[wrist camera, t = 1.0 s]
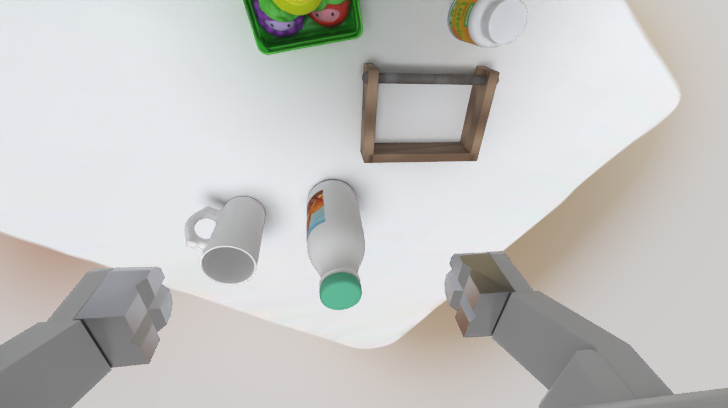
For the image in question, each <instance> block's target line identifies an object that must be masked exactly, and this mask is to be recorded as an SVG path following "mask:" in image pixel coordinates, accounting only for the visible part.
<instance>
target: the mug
mask: <svg viewBox="0 0 728 408" xmlns="http://www.w3.org/2000/svg"><path fill="white" fill-rule="evenodd" d="M204 218H209V219H212V220H214V221H215V222H216V226H215V228H214V231H213V233H212V235H211V237H210V239H203V238H200V237H199V236H198V235H197V234H196V233H195V230H194V226H195V224H196V223H197V222H198V221H199V220H201V219H204ZM264 221H265V210H264V208H263V206H262V205H261V204H260V203H259V202H258V201H257V200H255V199H253V198H250V197H244V196H240V197H235V198H233V199H231V200H229V201H228V202H227V203H226V205H225V206H224V208H223V210H216V209H214V208H212V207H205V208H204V209H202V210H200V211H198V212H197V213H195V214H193V215H192V216H191V217H190V218H189V219H188V221H187V222H186V225H185V237H186V246H188V247H191V248H200V249H202V250H203V254H202V256H201V258H200V262H199V265H200V269H201V271H202V272H203V274H204V275H205V276H206V277H207V278H209V279H210V280H212V281H214V282H217V283H220V284H225V285H236V284H241V283H244V282H246V281H248V280H250V279H251V278H252V277H253V276H254V274H255V272H256V266H257V262H258V257H259V251H260V245H261V239H262V233H263V227H264Z"/></svg>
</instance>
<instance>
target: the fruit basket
mask: <svg viewBox="0 0 728 408" xmlns="http://www.w3.org/2000/svg"><path fill="white" fill-rule="evenodd" d="M243 1H244V4H245V8H246V11H247V14H248V17H249V20H250V24H251V27H252V30H253V34H254V37H255V40H256V43H257V46H258V49H259V50H260V51H261V52H262V53H263V54H266V55H270V54H275V53H280V52H285V51H290V50H295V49H301V48H306V47H312V46H318V45H323V44H328V43H333V42H339V41H345V40H350V39H356V38H358V37H360V36H361V34H362V32H363V24H362V18H361V12H360V5H359V0H243Z"/></svg>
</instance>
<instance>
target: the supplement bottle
mask: <svg viewBox="0 0 728 408" xmlns="http://www.w3.org/2000/svg"><path fill="white" fill-rule="evenodd" d="M448 23H449V28H450V31H451V32H452V34H453V35H454V36H455V37H456V38H457V39H459V40H462V41H465V42H468V43H471V44H474V45H477V46H480V47H484V48H493V47H497V46H499V45H501V44H508V43H510V42H512V41H514V40H515V39H517V38H518V37H519V36H520V34H521V33H522V32H523V30H524V28H525V26H526V23H527V9H526V6H525V5H524V3H523V2H522V1H520V0H455V1H454V3H453V5H452V7H451V9H450V12H449V17H448Z"/></svg>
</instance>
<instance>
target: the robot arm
mask: <svg viewBox="0 0 728 408" xmlns="http://www.w3.org/2000/svg"><path fill="white" fill-rule="evenodd" d="M450 266H451V268H452V270H451V271H450V272H449V273H448V274H447V275H446V279H445V294H446V298H447V300H448V303H449V305H450V306H451V307H452V308H454V309H455V310H456V311H457V313H456V316H455V319H456V321H457V323H458V326H459V328H460V330H461V332H462V334H463V337H479V336H480V337H481V336H492V338H493V339H494V340H495V341H496V342H497V343H498V344H499V345H500V346H501V347H503V348H504V349H505V350H506V351H507V352H508V353H509V354H510V355H511V356H512V357H514V358H515V359H516V360H517V361H518V362H519V363H520V364H521V365H522V366H523V367H524V368H525V369H527V370H528V371H529V372H530V373H531V374H532V375H533V376H534V377H535V378H536V379H537V380H539V381H540V382H541V383H542V384H543V385H544V386H545V387H546V388H547V389H548V390H549V391H548V392H547V394H546V395H545V397H544V398H543V399H542V401H541V403H540V405H539V408H728V388H723V389H715V390H708V391H698V392H691V393H683V394H673V393H672V391H671V390H670V389H669V388H668V387H667V386H666V385H665V384H664V383H663V381H662V380H661V379H660V378H659V377H658V376H657V375H656V374H655V372H653V370H652V369H651V368H650V367H649V366H648V365H647V364H646V363H645V361H644V360H643V359H642V358H641V357H640V356H639V355H638V354H637V352H635V350H634V349H633V348H632V347H631V346H630V345H629V344H627V343H626V342H624V341H622V340H621V339H619V338H617V337H616V336H614V335H612V334H611V333H609V332H607V331H606V330H604V329H602V328H601V327H599V326H597V325H595V324H594V323H592V322H590V321H589V320H587V319H585V318H584V317H582V316H580V315H579V314H577V313H575V312H573V311H572V310H570V309H568V308H567V307H565V306H563V305H561V304H560V303H558V302H557V301H555V300H553V299H552V298H550V297H548V296H546V295H545V294H543V293H541V292H540V291H533V290H532V288H531V287H530V286H529V284H528V283H527V281H526V280H525V279H524V277H523V276H522V275H521V273H520V272H519V271H518V269H517V268H516V267H515V265H514V264H513V263H512V261H511V260H510V259H509V257H508V256H507V255H506V254H505V253H504V252H502V251H497V252H485V253H484V252H482V253H463V254H454V255H453V256H452V257H451V261H450ZM164 278H165V277H164V274H163V272H162V270H161V268H158V267H129V268H103V269H93V270H90V271H88V272H87V273H86V274H85V276H84V277H83V278H82V279H81V280H80V282H79V283H78V284H77V285H76V286H75V288H74V289H73V290H72V291H71V293H70V294H69V295H68V296H67V297H66V299H65V300H64V301H63V302H62V304H61V305H60V306H59V307H58V308H57V310H56V311H55V312H54V313H53V315H52V316H51V317H50V318H49V319H48V321H47V322H41V323H37V324H36V325H34V326H32V327H31V328H29V329H27V330H25V331H24V332H22V333H20V334H19V335H17V336H15V337H14V338H12V339H10V340H9V341H7V342H5V343H4V344H2V345H0V408H71V407H72V406H74V405H75V404H76V403H77V402H78V401H79V400H80V399H81V398H82V397H83V396H84V395H85V394H86V393H87V392H88V391H89V390H90V389H92V388H93V387H94V386H95V385H96V384H97V383H98V382H99V381H100V380H101V379H102V378H103V377H104V376H105V375H106V374H107V373H108V372H110V370H111V368H112V367H122V366H131V365H140V364H149V363H150V361H151V358H152V356H153V354H154V352H155V349H156V347H157V345H158V343H159V341H160V338H159V336H158V334H157V332H158V331H159V330H160V329H162V328H163V327H164V326H165V325H166V324H167V322H168V320H169V317H170V315H171V310H172V296H171V293H170V290H169V289H168V288H167V287H165V286H164V285H162V282H163V280H164Z"/></svg>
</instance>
